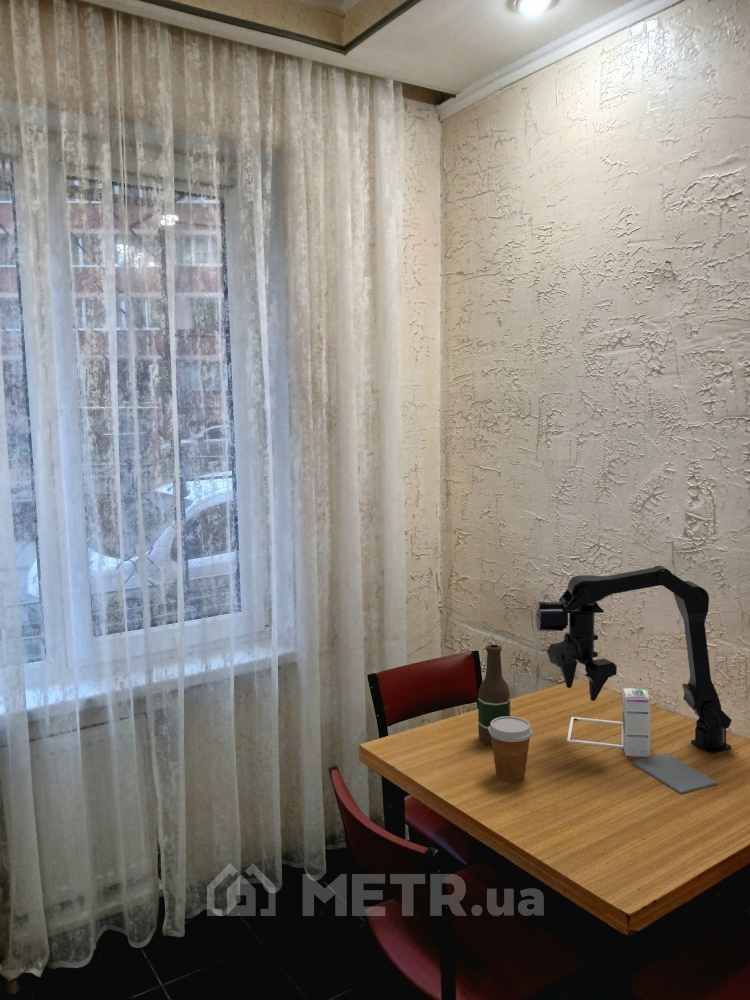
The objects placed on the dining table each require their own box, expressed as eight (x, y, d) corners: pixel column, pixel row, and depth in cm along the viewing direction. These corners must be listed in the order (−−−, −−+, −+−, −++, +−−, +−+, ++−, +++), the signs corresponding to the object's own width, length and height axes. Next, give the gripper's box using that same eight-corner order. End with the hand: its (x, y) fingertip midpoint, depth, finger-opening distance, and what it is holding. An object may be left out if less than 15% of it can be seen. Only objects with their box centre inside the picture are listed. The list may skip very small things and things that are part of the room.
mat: (666, 755, 175) (666, 753, 175) (717, 784, 161) (717, 782, 161) (631, 763, 171) (631, 761, 171) (680, 794, 158) (680, 791, 157)
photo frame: (645, 748, 177) (567, 739, 183) (645, 752, 178) (567, 743, 183) (644, 723, 191) (571, 716, 197) (644, 727, 191) (571, 720, 197)
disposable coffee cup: (484, 782, 164) (484, 730, 163) (493, 763, 173) (493, 713, 172) (528, 789, 161) (528, 735, 160) (535, 769, 170) (535, 718, 169)
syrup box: (650, 757, 174) (651, 697, 172) (624, 756, 175) (624, 696, 174) (647, 747, 180) (648, 688, 178) (621, 745, 181) (622, 687, 179)
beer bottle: (512, 747, 181) (512, 650, 178) (480, 747, 181) (479, 651, 178) (507, 733, 189) (507, 640, 186) (476, 734, 189) (475, 641, 186)
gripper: (530, 624, 183) (529, 686, 185) (578, 646, 166) (577, 714, 167) (568, 618, 187) (567, 679, 189) (618, 639, 170) (617, 705, 172)
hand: (580, 693), depth 179 cm, fingers open, 9 cm apart
